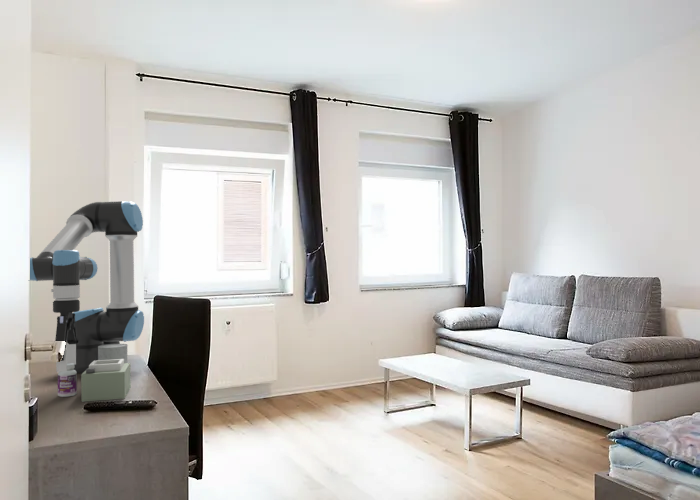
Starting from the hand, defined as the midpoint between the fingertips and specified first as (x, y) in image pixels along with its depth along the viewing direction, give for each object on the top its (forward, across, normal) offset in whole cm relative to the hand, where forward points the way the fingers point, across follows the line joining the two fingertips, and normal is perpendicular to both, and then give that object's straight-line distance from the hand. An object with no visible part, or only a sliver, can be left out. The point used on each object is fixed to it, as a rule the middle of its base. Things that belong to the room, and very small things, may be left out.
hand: (66, 368), depth 181 cm
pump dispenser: (+8, -70, +2) cm, 71 cm away
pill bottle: (+9, 0, 0) cm, 9 cm away
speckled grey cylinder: (+8, -18, +11) cm, 23 cm away
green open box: (+8, +2, +12) cm, 15 cm away
